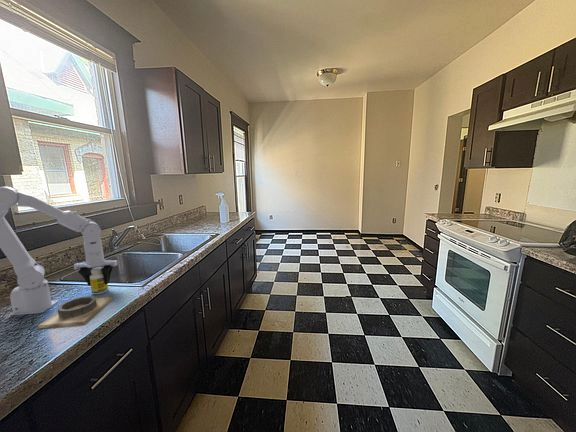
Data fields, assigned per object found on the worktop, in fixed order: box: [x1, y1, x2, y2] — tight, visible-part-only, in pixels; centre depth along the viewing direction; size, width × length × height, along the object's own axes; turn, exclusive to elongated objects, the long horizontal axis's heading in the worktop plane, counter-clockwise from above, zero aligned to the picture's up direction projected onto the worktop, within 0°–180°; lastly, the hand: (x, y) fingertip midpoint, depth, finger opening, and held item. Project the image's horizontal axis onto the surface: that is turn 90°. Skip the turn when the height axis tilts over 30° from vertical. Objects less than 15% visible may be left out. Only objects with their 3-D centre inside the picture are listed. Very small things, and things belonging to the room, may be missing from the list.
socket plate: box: [37, 295, 113, 329], centre depth 85 cm, size 13×16×4 cm
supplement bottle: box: [90, 267, 109, 295], centre depth 100 cm, size 5×5×10 cm
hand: (99, 283), depth 100 cm, fingers closed on supplement bottle, 5 cm apart
